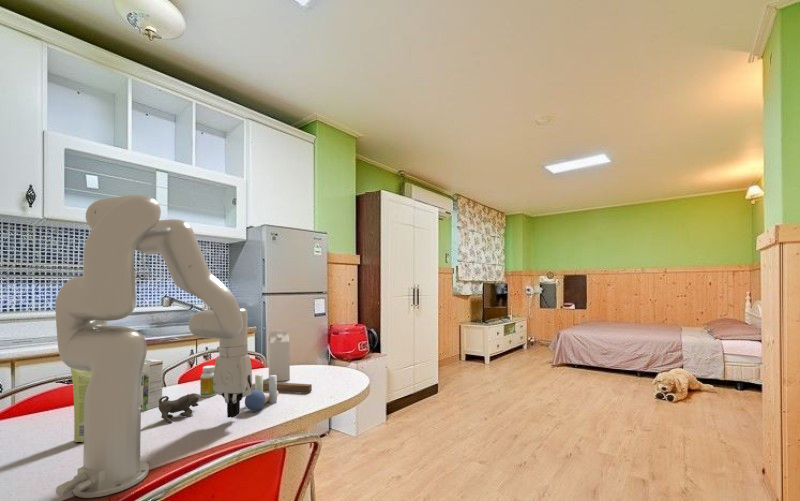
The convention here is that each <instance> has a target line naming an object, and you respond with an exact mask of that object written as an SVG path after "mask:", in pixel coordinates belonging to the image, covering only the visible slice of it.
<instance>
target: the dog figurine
mask: <svg viewBox="0 0 800 501" xmlns="http://www.w3.org/2000/svg"><path fill="white" fill-rule="evenodd" d="M200 397H201V395H200V393H194V392H193V393H188V394H186V395H183V396H181V397H179V398H177V399H174V400H169V399H170V398H169V396H167V395H165V396H164V395H163V396H162V397H161V398H160V399H159V406H158V410H159V412H160V414H161V416H160V417H161V419H164V420H165V422H167V423H168V424H173V420H171V419H170V418H173V417H174V415H172V414H176V413H178V412H180V413H179V416H182V417H192V416H193V415H194V414H193V409H191V408H190V407H192V408H195V407H198V406H199V403H198V402H199V400H200Z"/></svg>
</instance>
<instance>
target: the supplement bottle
mask: <svg viewBox="0 0 800 501" xmlns="http://www.w3.org/2000/svg"><path fill="white" fill-rule="evenodd" d="M214 367H215V365H213V364H211V365H206V366H205V365H204V366H203V367H202V373H201V375H200V378H199V379H200V383H199V384H200V385H199V386H200V388H199V390H200V393H199V395H200V397H202V398H210V397H214V396H216V395H217V394H216V392H215V391H214V390H213V376H214Z"/></svg>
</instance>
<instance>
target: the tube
mask: <svg viewBox="0 0 800 501" xmlns="http://www.w3.org/2000/svg"><path fill="white" fill-rule="evenodd" d="M70 372H71V379H72V380H71V381H72V392H73V394H72V395H73V418H74V419H73V420H74V421H73V423H74V425H73V426H74V428H73V429H74V431H73V432H74V434H73V436H74V438H73V440H74V442H75V443H76V442H82V443H84V400H85V393H86V389H87V387H88V384H89V382H90V379H91V376H92V372H91V371H82V370H77V369H73V368H70Z"/></svg>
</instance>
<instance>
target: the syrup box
mask: <svg viewBox="0 0 800 501" xmlns="http://www.w3.org/2000/svg"><path fill="white" fill-rule="evenodd" d="M163 364H164V360H160V359H159V360H158V359H152V358H151V359H145V363H144V367H143V372H142V381H141V411H149V410H151V409H152V410H153V409H154V408H157V407H159V399H160V398H161V397H163V380H164V379H163V377H164V376H163V375H164V374H163V373H164V372H163V371H164V370H163V366H164V365H163Z"/></svg>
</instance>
